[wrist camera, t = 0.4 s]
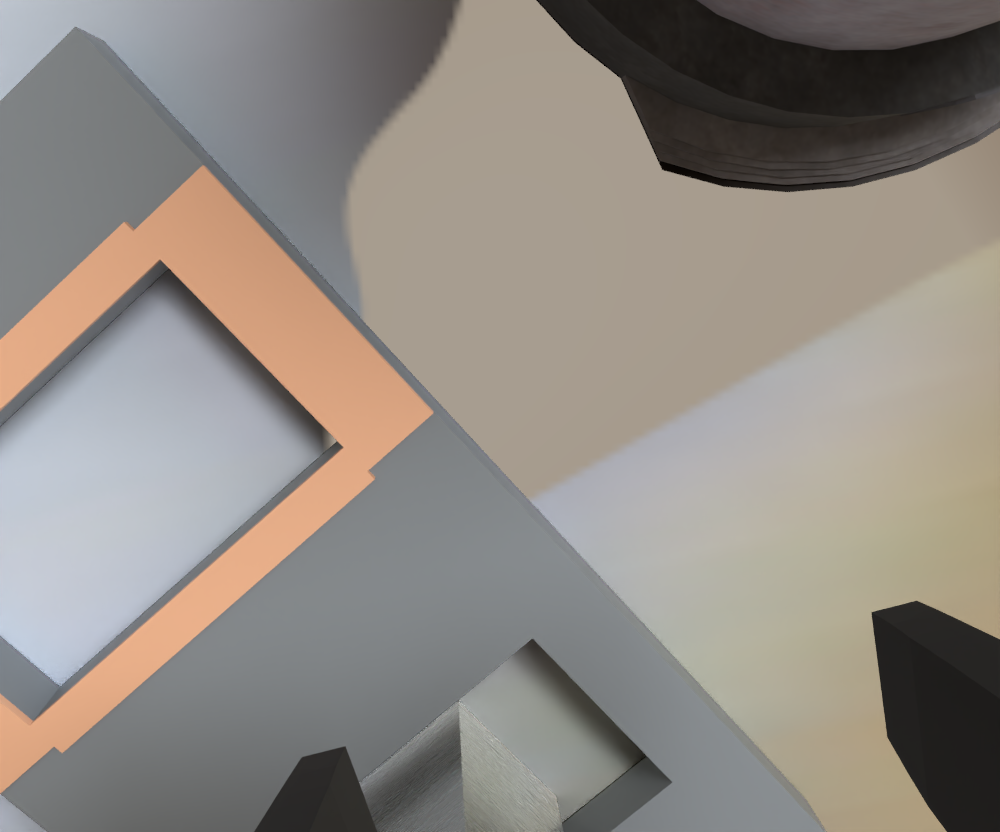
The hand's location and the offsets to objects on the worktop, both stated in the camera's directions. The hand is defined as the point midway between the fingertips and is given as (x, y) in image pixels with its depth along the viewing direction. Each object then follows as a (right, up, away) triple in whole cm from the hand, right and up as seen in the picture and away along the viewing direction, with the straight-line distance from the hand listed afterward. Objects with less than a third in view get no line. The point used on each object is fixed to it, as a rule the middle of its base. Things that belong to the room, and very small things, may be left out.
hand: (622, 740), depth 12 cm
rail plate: (-7, -2, +11) cm, 13 cm away
